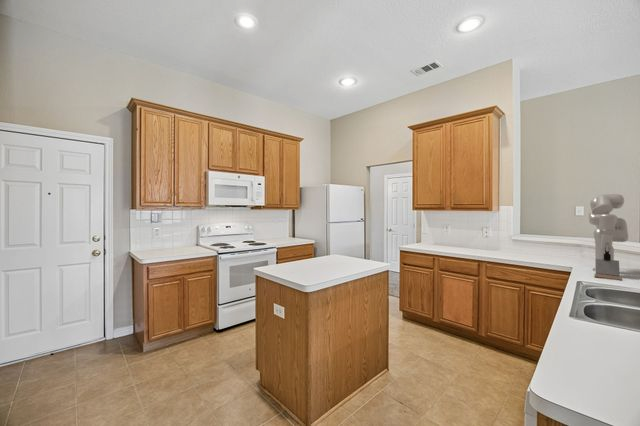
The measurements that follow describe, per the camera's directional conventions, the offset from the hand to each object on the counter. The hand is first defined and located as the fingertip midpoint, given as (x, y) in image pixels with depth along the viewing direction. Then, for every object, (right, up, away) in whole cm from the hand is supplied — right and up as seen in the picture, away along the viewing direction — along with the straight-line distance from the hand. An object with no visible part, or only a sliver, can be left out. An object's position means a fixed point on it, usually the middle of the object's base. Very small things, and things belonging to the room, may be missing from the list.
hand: (607, 259), depth 189 cm
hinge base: (-9, -11, -9) cm, 17 cm away
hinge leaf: (-2, -6, -2) cm, 6 cm away
